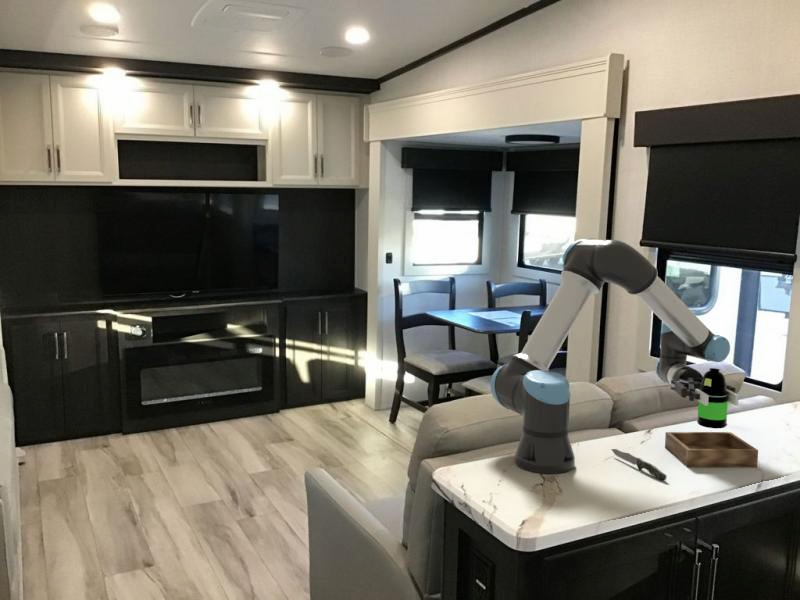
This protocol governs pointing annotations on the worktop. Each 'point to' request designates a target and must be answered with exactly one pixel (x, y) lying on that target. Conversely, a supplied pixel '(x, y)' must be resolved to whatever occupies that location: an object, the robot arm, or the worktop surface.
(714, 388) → the bottle
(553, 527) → the worktop surface
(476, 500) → the worktop surface
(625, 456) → the knife
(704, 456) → the crate
